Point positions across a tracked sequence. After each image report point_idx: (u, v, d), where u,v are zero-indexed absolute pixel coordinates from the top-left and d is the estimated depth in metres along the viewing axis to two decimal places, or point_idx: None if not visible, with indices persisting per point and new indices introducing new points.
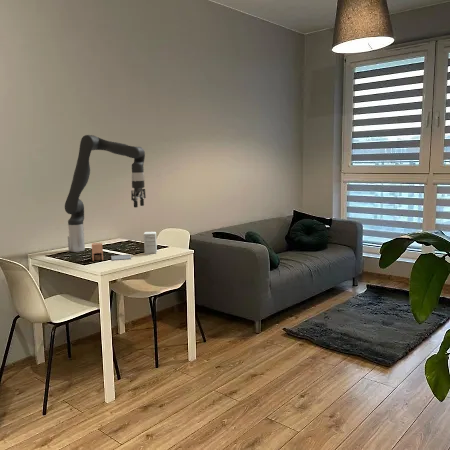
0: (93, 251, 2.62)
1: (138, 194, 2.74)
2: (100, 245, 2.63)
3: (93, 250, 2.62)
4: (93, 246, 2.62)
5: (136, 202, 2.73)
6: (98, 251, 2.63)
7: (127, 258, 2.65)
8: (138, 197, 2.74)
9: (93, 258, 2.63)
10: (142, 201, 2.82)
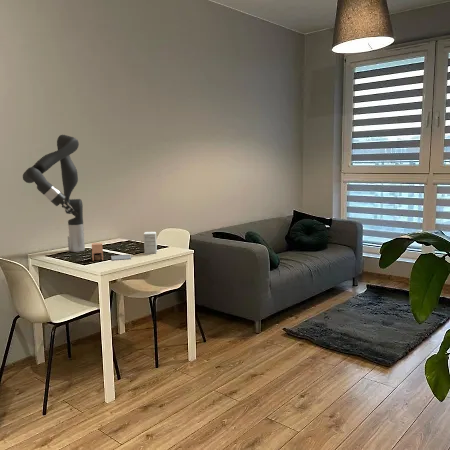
0: (93, 251, 2.62)
1: None
2: (100, 245, 2.63)
3: (93, 250, 2.62)
4: (93, 246, 2.62)
5: None
6: (98, 251, 2.63)
7: (127, 258, 2.65)
8: None
9: (93, 258, 2.63)
10: None
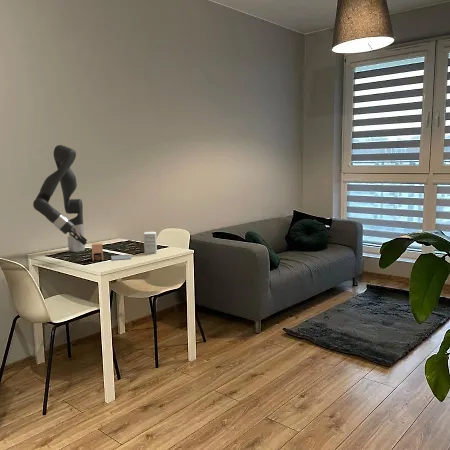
0: (93, 251, 2.62)
1: None
2: (100, 245, 2.63)
3: (93, 250, 2.62)
4: (93, 246, 2.62)
5: None
6: (98, 251, 2.63)
7: (127, 258, 2.65)
8: None
9: (93, 258, 2.63)
10: None
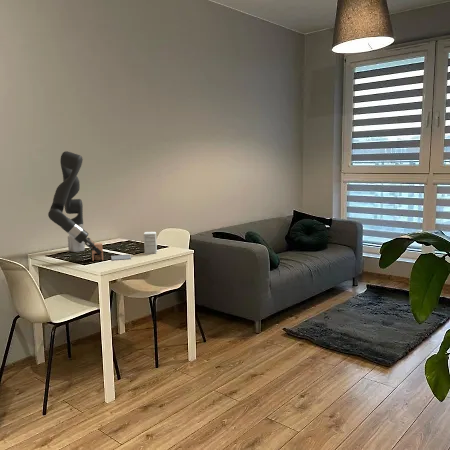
0: (93, 251, 2.62)
1: None
2: (100, 245, 2.63)
3: None
4: None
5: None
6: None
7: (127, 258, 2.65)
8: None
9: (93, 258, 2.63)
10: None
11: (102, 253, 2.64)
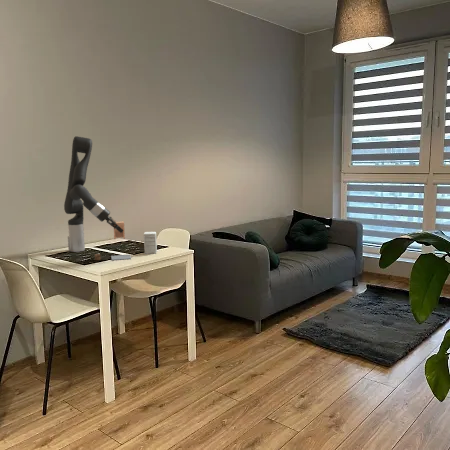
0: (115, 229, 2.63)
1: None
2: (122, 224, 2.64)
3: None
4: None
5: None
6: None
7: (127, 258, 2.65)
8: None
9: (115, 236, 2.65)
10: None
11: None
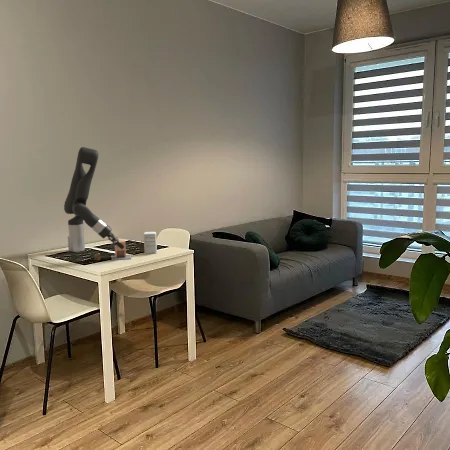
0: (116, 249, 2.65)
1: None
2: (123, 243, 2.66)
3: (116, 248, 2.65)
4: None
5: None
6: (121, 249, 2.66)
7: (127, 258, 2.65)
8: None
9: (116, 256, 2.67)
10: None
11: (125, 251, 2.68)
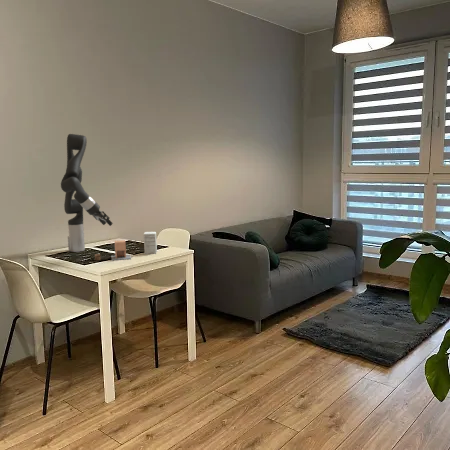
0: (116, 249, 2.65)
1: (95, 216, 2.70)
2: (123, 243, 2.66)
3: (116, 248, 2.65)
4: (116, 244, 2.65)
5: None
6: (121, 249, 2.66)
7: (127, 258, 2.65)
8: (97, 219, 2.71)
9: (116, 256, 2.67)
10: None
11: (125, 251, 2.68)
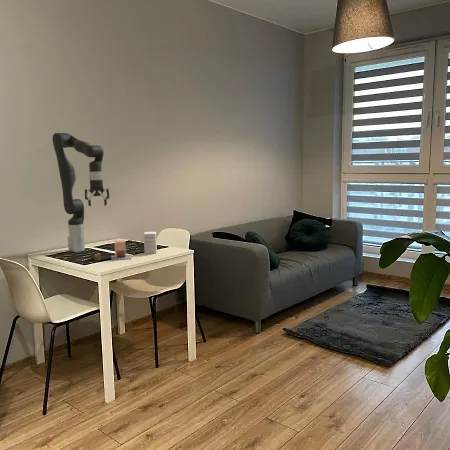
0: (116, 249, 2.65)
1: (91, 193, 2.71)
2: (123, 243, 2.66)
3: (116, 248, 2.65)
4: (116, 244, 2.65)
5: (89, 201, 2.72)
6: (121, 249, 2.66)
7: (127, 258, 2.65)
8: (91, 196, 2.71)
9: (116, 256, 2.67)
10: (104, 201, 2.75)
11: (125, 251, 2.68)
